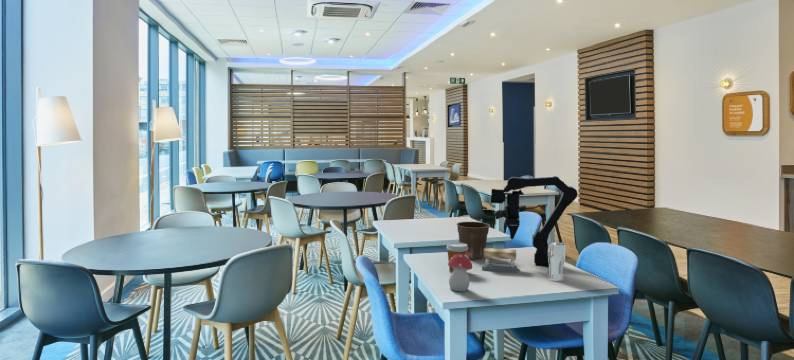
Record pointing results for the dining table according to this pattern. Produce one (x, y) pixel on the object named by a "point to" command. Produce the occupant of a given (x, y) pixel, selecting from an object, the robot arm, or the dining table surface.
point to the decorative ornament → (460, 272)
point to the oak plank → (499, 253)
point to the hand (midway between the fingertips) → (512, 237)
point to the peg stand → (499, 266)
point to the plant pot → (473, 237)
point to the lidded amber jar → (456, 250)
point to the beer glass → (556, 260)
